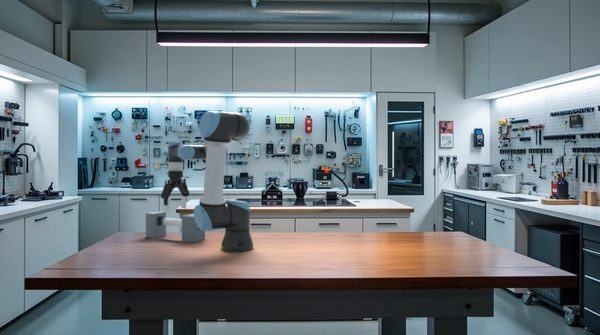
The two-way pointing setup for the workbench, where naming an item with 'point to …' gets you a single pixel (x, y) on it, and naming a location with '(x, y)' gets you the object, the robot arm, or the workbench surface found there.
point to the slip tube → (172, 222)
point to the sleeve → (191, 229)
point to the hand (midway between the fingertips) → (175, 209)
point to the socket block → (155, 224)
